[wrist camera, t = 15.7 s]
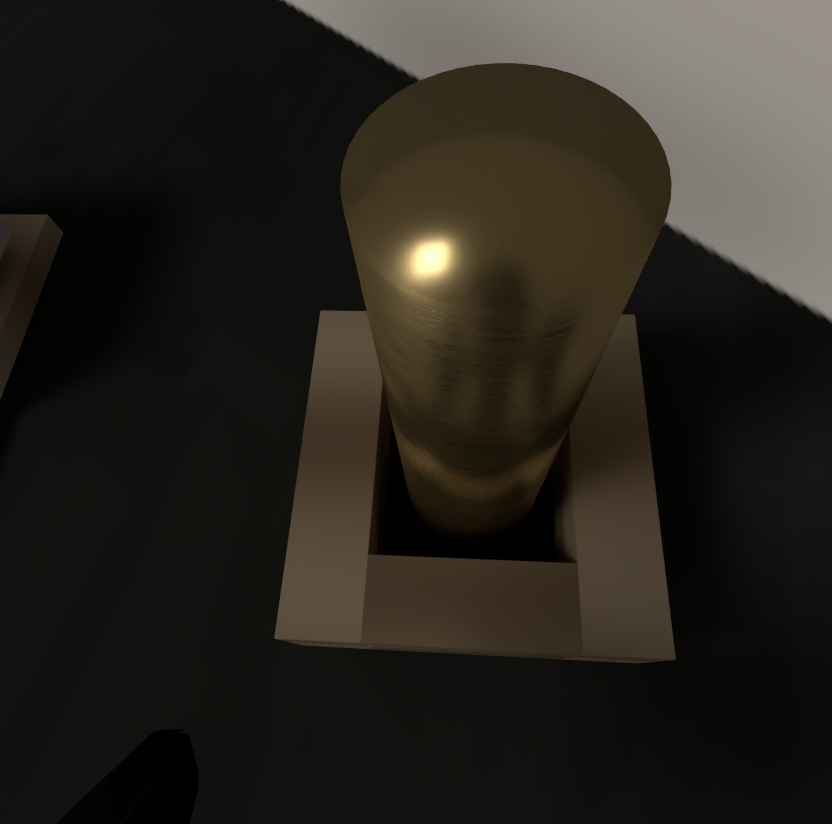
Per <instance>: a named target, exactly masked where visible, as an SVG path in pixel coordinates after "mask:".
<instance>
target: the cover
mask: <svg viewBox="0 0 832 824" xmlns="http://www.w3.org/2000/svg"><path fill="white" fill-rule="evenodd" d="M10 236H11V233H10V232H9V231H8V230H7V229H6V228H5V227H4V226H3V225H2V224H1V223H0V259H1V257H2V255H3V252H4V250H5V247H6V245H7V243H8V240H9V238H10Z"/></svg>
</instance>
